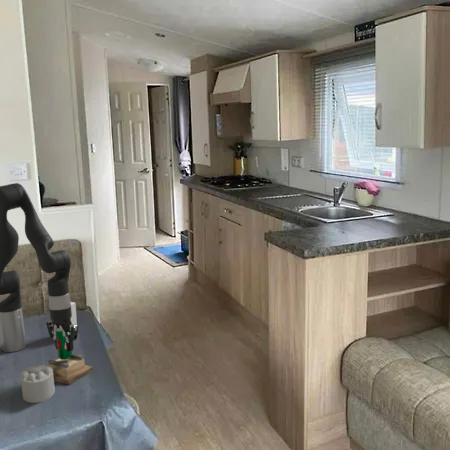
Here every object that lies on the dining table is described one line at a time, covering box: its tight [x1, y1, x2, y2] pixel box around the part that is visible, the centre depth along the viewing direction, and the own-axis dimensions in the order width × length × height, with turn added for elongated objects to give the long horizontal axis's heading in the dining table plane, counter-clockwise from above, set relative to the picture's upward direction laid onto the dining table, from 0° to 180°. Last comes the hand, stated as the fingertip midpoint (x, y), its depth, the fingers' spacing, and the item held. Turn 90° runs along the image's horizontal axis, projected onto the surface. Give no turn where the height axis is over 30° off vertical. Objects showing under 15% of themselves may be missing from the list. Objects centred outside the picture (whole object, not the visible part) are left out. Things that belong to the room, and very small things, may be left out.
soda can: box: [55, 327, 74, 360], centre depth 183 cm, size 5×5×12 cm
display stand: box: [47, 353, 94, 386], centre depth 184 cm, size 14×12×6 cm
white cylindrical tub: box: [20, 364, 56, 404], centre depth 170 cm, size 10×13×9 cm
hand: (64, 349), depth 183 cm, fingers closed on soda can, 5 cm apart
